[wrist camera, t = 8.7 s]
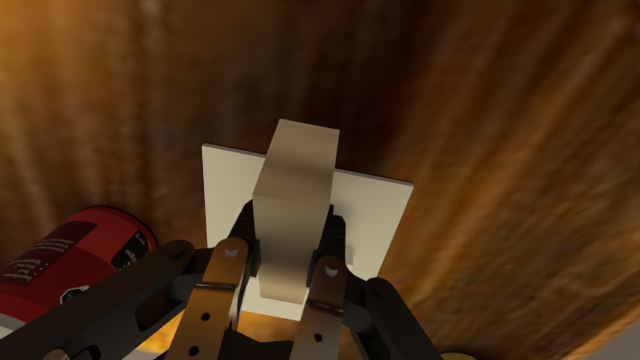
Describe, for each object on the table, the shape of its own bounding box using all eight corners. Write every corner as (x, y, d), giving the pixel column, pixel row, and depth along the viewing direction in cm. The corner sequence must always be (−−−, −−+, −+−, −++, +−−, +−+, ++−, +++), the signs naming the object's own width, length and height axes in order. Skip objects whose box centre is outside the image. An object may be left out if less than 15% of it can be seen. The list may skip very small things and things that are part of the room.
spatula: (226, 108, 12) (182, 181, 9) (392, 140, 12) (397, 221, 9) (249, 271, 24) (233, 321, 22) (329, 286, 24) (323, 337, 22)
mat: (204, 143, 21) (201, 145, 21) (412, 183, 22) (413, 186, 21) (212, 292, 31) (210, 296, 31) (356, 319, 31) (356, 323, 31)
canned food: (150, 274, 30) (62, 394, 21) (73, 241, 29) (-60, 356, 19) (169, 230, 27) (71, 351, 17) (81, 189, 25) (-79, 300, 16)
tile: (231, 242, 23) (231, 308, 28) (352, 265, 23) (331, 326, 28) (240, 225, 25) (238, 290, 30) (352, 247, 25) (333, 308, 30)
